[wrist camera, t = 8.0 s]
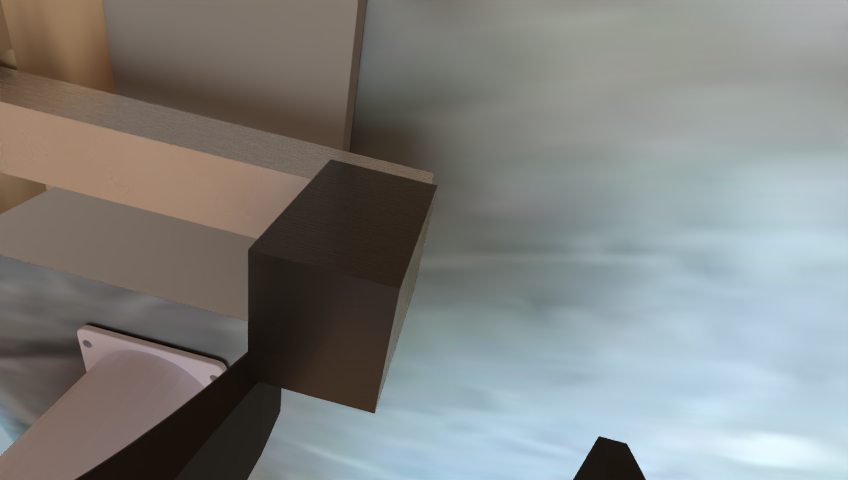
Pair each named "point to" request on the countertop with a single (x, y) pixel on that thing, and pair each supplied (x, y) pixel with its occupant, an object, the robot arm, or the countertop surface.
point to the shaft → (248, 220)
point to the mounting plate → (210, 97)
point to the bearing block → (52, 59)
